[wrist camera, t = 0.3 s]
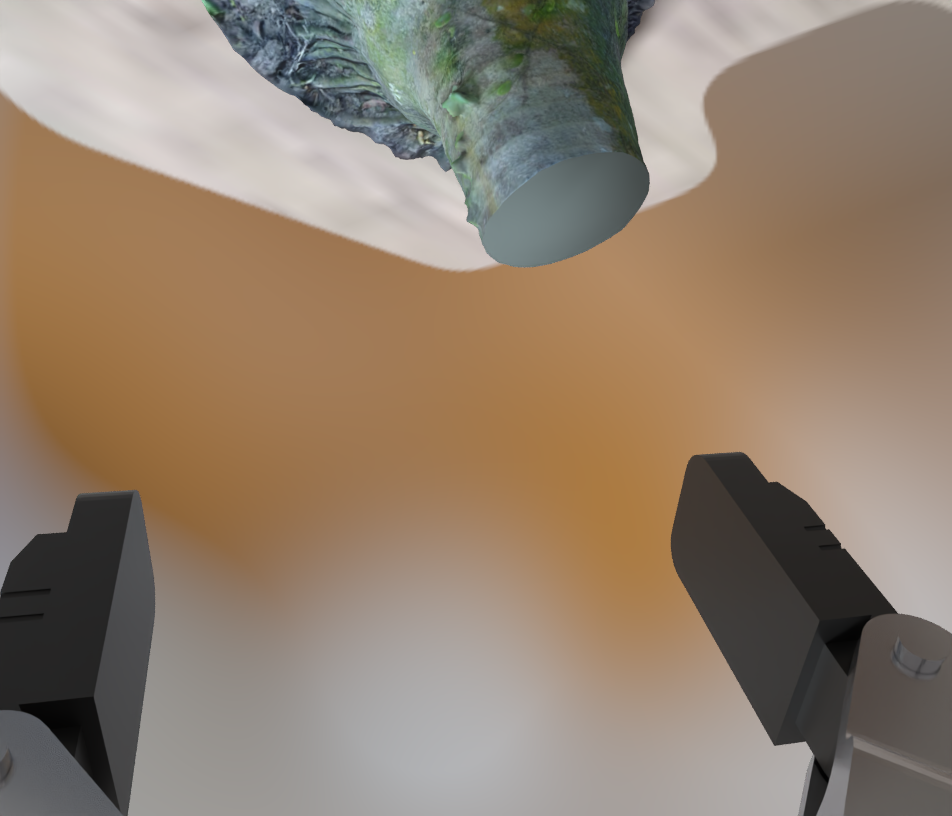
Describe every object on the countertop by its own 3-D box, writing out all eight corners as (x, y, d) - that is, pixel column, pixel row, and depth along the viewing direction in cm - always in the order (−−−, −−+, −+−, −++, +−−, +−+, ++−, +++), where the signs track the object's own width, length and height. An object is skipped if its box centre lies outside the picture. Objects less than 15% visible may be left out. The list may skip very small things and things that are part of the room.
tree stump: (474, -602, 26) (788, -273, 18) (666, -96, 43) (867, 180, 35) (38, -164, 31) (141, 229, 24) (363, 129, 48) (483, 410, 41)
